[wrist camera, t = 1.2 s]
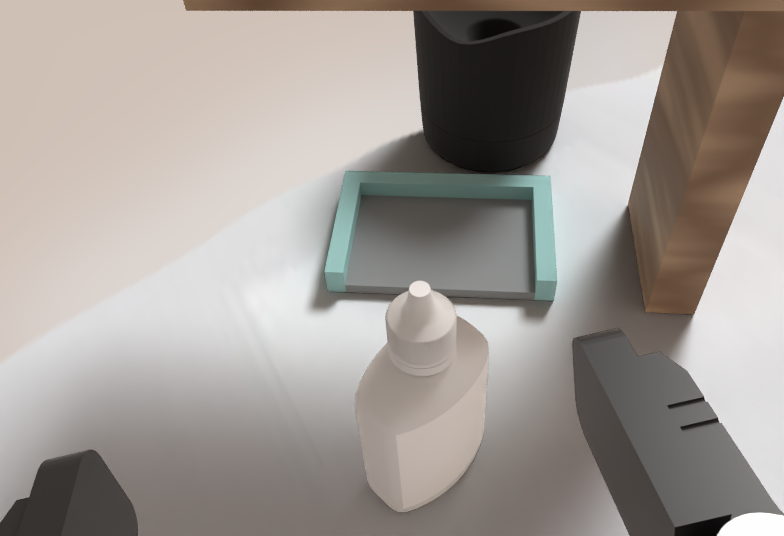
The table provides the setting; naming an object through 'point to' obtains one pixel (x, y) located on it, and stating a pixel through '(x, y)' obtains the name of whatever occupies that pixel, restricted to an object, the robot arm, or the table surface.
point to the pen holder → (493, 83)
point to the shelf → (665, 123)
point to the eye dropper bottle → (422, 400)
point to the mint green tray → (444, 235)
